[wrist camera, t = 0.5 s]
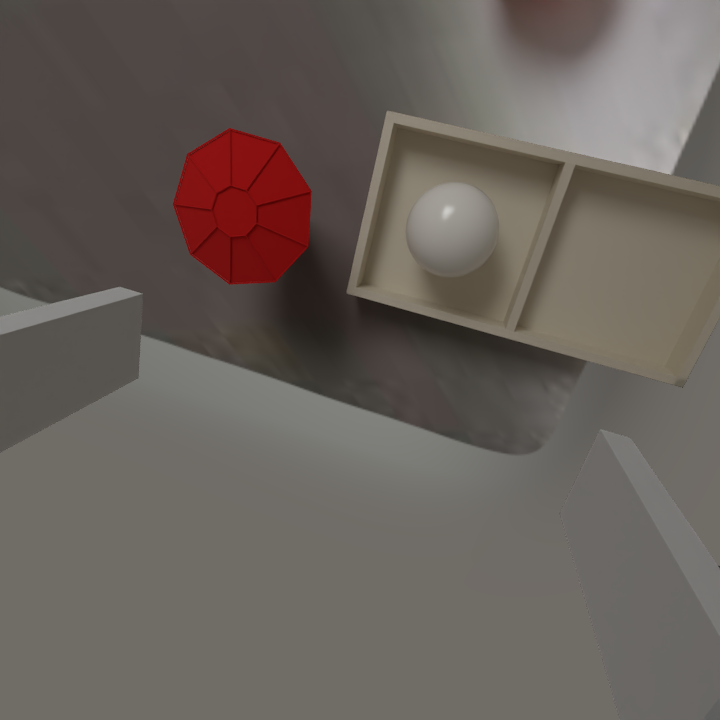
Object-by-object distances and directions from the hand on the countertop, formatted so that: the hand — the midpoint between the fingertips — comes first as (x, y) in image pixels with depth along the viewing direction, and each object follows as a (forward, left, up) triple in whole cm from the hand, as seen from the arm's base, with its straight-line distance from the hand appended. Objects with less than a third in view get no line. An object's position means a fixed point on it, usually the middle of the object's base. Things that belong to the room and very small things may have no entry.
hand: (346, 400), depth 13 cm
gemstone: (-2, -11, -24) cm, 27 cm away
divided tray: (-4, +7, -24) cm, 26 cm away
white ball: (-4, +1, -23) cm, 24 cm away
